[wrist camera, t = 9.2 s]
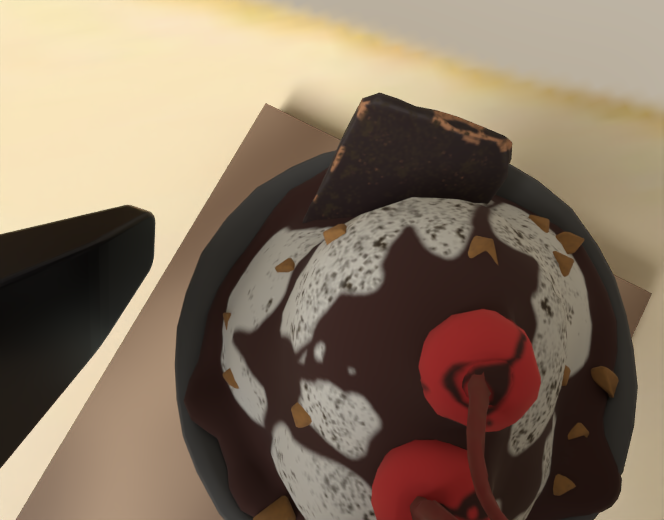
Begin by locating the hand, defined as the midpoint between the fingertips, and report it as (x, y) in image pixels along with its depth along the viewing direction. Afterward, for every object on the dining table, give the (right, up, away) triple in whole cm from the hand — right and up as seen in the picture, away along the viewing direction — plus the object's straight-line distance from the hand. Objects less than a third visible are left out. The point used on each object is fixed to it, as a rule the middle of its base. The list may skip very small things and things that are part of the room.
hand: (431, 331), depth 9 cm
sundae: (0, -2, +10) cm, 10 cm away
